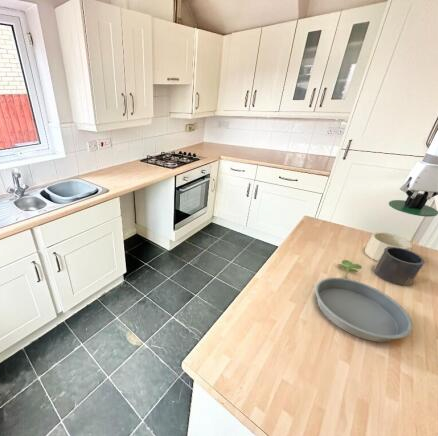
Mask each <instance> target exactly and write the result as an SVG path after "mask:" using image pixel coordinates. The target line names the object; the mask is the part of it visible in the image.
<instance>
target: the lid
mask: <svg viewBox="0 0 438 436" xmlns="http://www.w3.org/2000/svg"><path fill="white" fill-rule="evenodd" d="M423 197H424V194H423V193H420V192H418V194H417V195H416V197H415V199H416V201H415V202H414V204H413V206H412V208H408V207H406V206H405V201H406V200H404V199H394V200H393V199H392V200H390V201H389V202H388V206H389V207H390V208H392V209H393V210H396V211H398V212H401V213H403V214H405V213H406V214H408V215H413V216H420V217H430V218H431V217H436V216H438V210H437V209H436V208H433V207H432V206H429V205H427V204H425V205H424V206H423V208H422V209H418V208H417V207H418V206H419V204H420V202H421V200H422V198H423Z"/></svg>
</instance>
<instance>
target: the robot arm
mask: <svg viewBox="0 0 438 436" xmlns="http://www.w3.org/2000/svg"><path fill="white" fill-rule="evenodd" d="M402 184H403V185H402V186H400V187H399V190H401V191H402V192H403V193H405V194H406V196H407V197H406V199H405V200H404V201H405V206H406V207H408V208H412V206H413V204H414V202H415V201H416V199H415V197H416V195H417V194H418V193H420V192H422V194H424V197H423V198H422V200H421V202H420V204H419V206H418V207H417V208H418V209H422V208H423V206H424V205H427V202H428V201H430V200H431V199H432V198H434V197H436V196H438V130H437V131H436V133H435V134H434V137H433V139H432V141H431V142H430V145H429V146H428V149H427V151H426V153H425V154H424V156H423V158H422V160H421V161H417V162H416V164H415V165H414V166H413V167H412V169H411V170H410V171H409V173H408V174H407V176H406V177H405V180H404V181H403V183H402Z"/></svg>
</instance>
